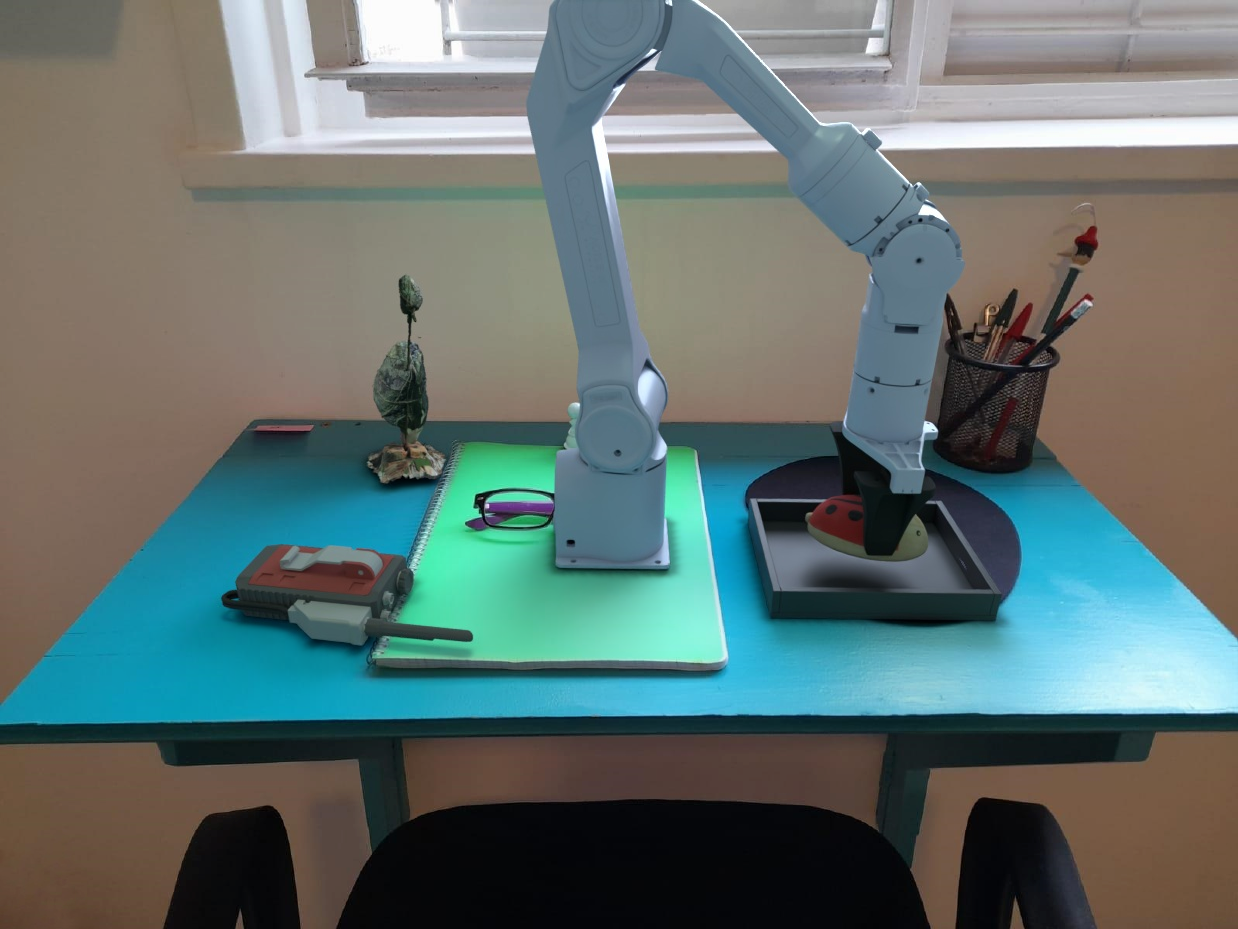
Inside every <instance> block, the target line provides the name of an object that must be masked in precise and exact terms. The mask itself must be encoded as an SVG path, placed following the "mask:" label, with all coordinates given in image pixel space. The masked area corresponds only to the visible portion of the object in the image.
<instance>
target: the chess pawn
mask: <svg viewBox="0 0 1238 929" xmlns="http://www.w3.org/2000/svg"><path fill="white" fill-rule="evenodd" d="M579 410H580V403H579V402H571V403H570V404H569V405H568V407H567V410H566V411H567V414H568V417H569V418H571V419H569V422H568V423H569V424H570V425H571V427H570V428H569V430H568V432H567V433H568V434H567V436H566V438H565V442H564V443H563V447H564V448H565V450H566V449H572V448H577V447H578V446H577V443H576V439H575V424H576V421H577V418H578V415H579Z"/></svg>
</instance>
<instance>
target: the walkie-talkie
mask: <svg viewBox="0 0 1238 929" xmlns="http://www.w3.org/2000/svg"><path fill="white" fill-rule="evenodd" d="M414 576H415V575H414V572H413V570H412V568H409V567H408V564H407V557H406V556H404V555H403V554H397V553H396V554H395V553H383V552H379V551H377V550H376V549H372V548H364V547H363V548H361V547H356V549H353V547H352V546H351V547H350V546H342V545H330V544H329V545H327V546H325V547H321V546H320V547H319V546H318V547H316V546H307V545H297V544H288V543H287V544H284V543H278V544H270V545H268V544H267V545H266V546H264V547H263V548H262V550H261V551H260V552H259V553H257V555H256V556H255V557H254V558H253V559H252V560H251V561H250V562H249V564H247V566H246V567H245V568H243V570H242V571H241V572H240V573H239V574H238V575H237V577H236V578H235V581H234V583H235V588H236V589H230V590H228V591H226V592H224V593H223V594H222V595H221V597H220V599H221V600H220V601H221V604H222V607H225V608H227V609H229V610H239V611H241V612H242V613H243V614H244V616H246V617H253V618H254V617H255V618H264V619H273V620H274V619H275V620H282V621H283V620H284V621H289V624H297V626H298V627H299V628H300V629H301V630H302V631H304V633H305V634H306V635H307V636H308V637H309V638H310V639H312V640H320V641H321V640H322V641H330V642H338V643H348V644H351V645H354V646H363V645H364V644H365V642H366V641H367V640H368V638H369V637H372V638H383V637H390V638H399V639H411V640H420V641H430V642H432V641H434V640H443V641H451V642H462V643H470V642H473V640H474V634H473V632H472V631H471V630H469V629H462V628H461V629H460V628H453V627H452V628H451V627H441V626H432V625H422V624H414V623H413V624H412V623H402V622H393V621H392V617H393V614H392V610H393V609H394V607H395V605H396V604H397V602H398V600H399V599H400V598H401V596H408V595H409V594H410V593H411V592H412V590H413V586H414V579H415V578H414Z"/></svg>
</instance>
